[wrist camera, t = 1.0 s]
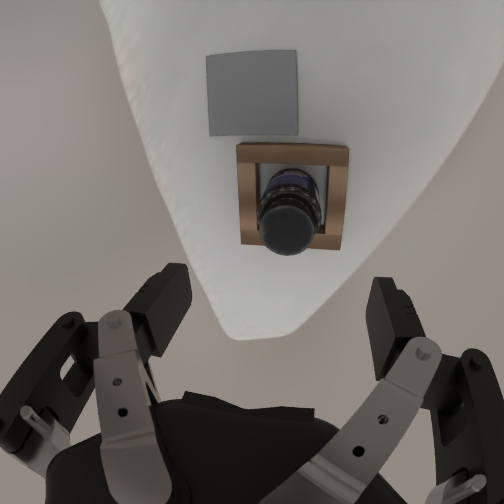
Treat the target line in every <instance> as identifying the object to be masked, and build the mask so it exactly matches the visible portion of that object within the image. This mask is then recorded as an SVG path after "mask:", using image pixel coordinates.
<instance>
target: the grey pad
mask: <svg viewBox="0 0 504 504" xmlns="http://www.w3.org/2000/svg"><path fill="white" fill-rule="evenodd" d="M206 71H207V94H208V113H209V131H210V136H227V135H298V103H297V65H296V50H266V51H248V52H236V53H226V54H218V55H210V56H206Z"/></svg>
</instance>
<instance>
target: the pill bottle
mask: <svg viewBox="0 0 504 504" xmlns="http://www.w3.org/2000/svg"><path fill="white" fill-rule="evenodd" d="M321 217H322V216H321V208H320V200H319V194H318V188H317V185H316V183H315V182H314V180H313V179H312V178H311V177H310V175H308V174H307V173H305V172H303V171H301V170H298V169H285V170H282V171H280V172H278V173H277V174H275V175H274V176H273V177H272V178H271V180H270V181H269V183H268V186H267V188H266V190H265V192H264V194H263V196H262V198H261V200H260V202H259V205H258V208H257V222H258V225H259V234H260V237H261V240H262V242H263V243H264V245H265V246H266V247H267V248H268V249H269V250H271V251H273V252H275V253H277V254H280V255H286V256H288V255H295V254H298V253H301V252H303V251H304V250H305V249H307V248H308V246H309V245H310V244H311V242H312V240H313V237H314V235H315V234H316V233H317V231H318V229H319V227H320V224H321Z"/></svg>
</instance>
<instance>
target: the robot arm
mask: <svg viewBox="0 0 504 504" xmlns="http://www.w3.org/2000/svg"><path fill="white" fill-rule="evenodd" d="M191 301H192V290H191V284H190V278H189V273H188V268H187V265H186V264H182V263H168V264H167V265H166V266H165V268H164V269H163V270H162V271H161V272H158V273H156V274H155V275H153V276H152V277H150V278H149V279H148V280H147V281H146V282H145V283H144V285H143V286H142V287H141V288H140V289H139V292H137V293H136V294H135V295H134V296H133V298H132V299H131V300H130V301H129V303H128V304H127V305H126V306H125V307H124V309H123V310H114V311H111V312H108V313H106V314H105V315H104V316H103V317H101V319H100V320H99V322H85V320H84V318H83V316H82V314H81V313H79V312H68V313H66V314H64V315H62V316H61V317H60V318H59V319H58V320H57V321H56V322H55V323H54V324H53V326H52V327H51V328H50V329H49V330H48V332H47V333H46V334H45V335H44V336H43V338H42V339H41V340H40V341H39V343H38V344H37V345H36V346H35V348H34V349H33V350H32V351H31V353H30V354H29V355H28V357H27V358H26V359H25V361H24V362H23V363H22V365H21V366H20V367H19V369H18V370H17V371H16V373H15V374H14V375H13V377H12V378H11V380H10V381H9V382H8V384H7V385H6V387H5V388H4V390H3V391H2V393H1V394H0V447H1V448H2V449H3V450H4V451H5V452H6V453H7V454H9V455H10V456H11V457H13V458H14V459H16V460H17V461H19V462H20V463H21V464H23V465H24V466H27V467H28V468H30V469H32V470H33V471H35V472H36V473H38V474H39V475H41V476H42V477H43V478H45V479H46V499H45V504H407V503H406V502H405V501H404V499H403V498H402V497H401V496H400V495H399V494H398V493H397V492H396V491H395V490H394V489H393V488H392V487H391V485H390V484H389V483H388V482H387V481H386V480H385V479H384V478H383V477H382V476H381V475H380V473H379V470H380V469H381V468H382V466H383V465H384V464H385V462H386V461H387V460H388V458H389V457H390V455H391V454H392V452H393V451H394V449H395V448H396V446H397V445H398V443H399V442H400V440H401V439H402V437H403V436H404V434H405V433H406V431H407V429H408V428H409V426H410V424H411V423H412V421H413V419H414V417H415V416H416V414H417V412H418V410H419V409H420V408H423V409H428V410H430V413H431V420H432V428H433V437H434V448H435V461H436V487H435V488H434V489H433V490H432V491H431V492H430V493H429V495H428V497H427V499H426V503H425V504H504V399H503V396H502V393H501V390H500V387H499V384H498V381H497V378H496V375H495V372H494V370H493V367H492V365H491V362H490V360H489V358H488V357H487V356H486V354H484V353H483V352H482V351H480V350H478V349H474V348H473V349H472V348H471V349H467V350H465V351H464V352H463V354H462V356H461V357H460V358H458V357H454V356H449V355H445V354H442V351H441V349H440V347H439V346H438V344H437V343H436V342H434V341H433V340H431V339H429V338H426V335H425V333H424V330H423V328H422V325H421V322H420V320H419V318H418V315H417V314H416V310H415V308H414V307H413V306H414V305H413V303H412V301H411V299H410V297H409V296H408V295H407V294H406V293H405V292H404V291H403V290H397V288H396V285H395V283H394V280H393V278H391V277H374V279H373V283H372V287H371V291H370V295H369V299H368V304H367V308H366V323H367V329H368V333H369V339H370V345H371V351H372V357H373V362H374V370H375V376H376V381H380V382H379V383H378V384H377V386H376V387H375V388H374V390H373V391H372V392H371V394H370V395H369V396H368V397H367V399H366V400H365V401H364V403H363V404H362V405H361V406H360V407H359V409H358V410H357V411H356V412H355V413H354V415H353V416H352V417H351V418H350V419H349V420H348V422H347V423H346V424H345V425H344V426H343V427H342V429H338V428H337V427H335V426H334V425H332V424H330V423H328V422H326V421H324V420H321V419H318V418H315V417H314V410H315V409H313V408H296V407H284V406H280V407H271V408H260V409H243V408H240V407H238V406H235V405H233V404H230V403H228V402H226V401H223V400H221V399H218V398H216V397H212V396H207V395H202V394H197V393H193V392H188V391H185V393H184V395H183V398H182V399H175V400H167V401H163V402H162V401H161V399H160V396H159V393H158V390H157V387H156V384H155V380H154V377H153V373H152V370H151V366H150V363H149V361H148V359H149V358H150V356H151V355H152V356H157V357H162V355H163V353H164V352H165V350H166V348H167V346H168V344H169V342H170V341H171V339H172V337H173V335H174V334H175V332H176V330H177V328H178V327H179V325H180V323H181V321H182V319H183V318H184V316H185V314H186V312H187V311H188V309H189V307H190V305H191ZM70 355H71V357H72V358H73V360H74V361H75V362H74V364H73V365H72V367H71V368H70V370H69V371H68V373H67V374H66V376H65V377H64V379H63V380H62V379H61V377H60V370H61V368H62V366H63V365H64V363H65V362H66V360H67V359H68V357H69V356H70ZM94 388H95V389H96V399H97V408H98V415H99V422H100V428H101V433H99V434H96V435H95V436H93V437H90V438H88V439H86V440H84V441H82V442H79V443H77V444H75V445H73V446H71V444H70V435H69V434H70V433H71V431H72V429H73V427H74V425H75V423H76V421H77V419H78V417H79V415H80V414H81V412H82V410H83V408H84V406H85V404H86V402H87V401H88V399H89V397H90V396H91V394H92V392H93V390H94Z"/></svg>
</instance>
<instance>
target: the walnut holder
mask: <svg viewBox="0 0 504 504" xmlns="http://www.w3.org/2000/svg"><path fill="white" fill-rule="evenodd" d="M236 154H237V175H238V195H239V213H240V232H241V244H246V245H262V246H265V245H264V243H263V242H262V240H261V237H260V234H259V225H258V222H257V208H258V205H259V202H260V186H259V163H280V164H306V165H324V166H328V175H327V193H326V208H325V221H324V225H320V227H319V229H318V231H317V233H316V234H315V235H314V237H313V240H312V242H311V244H310V245H309V246H308V248H311V249H327V250H340V247H341V239H342V231H343V222H344V213H345V202H346V191H347V178H348V162H349V148H347V147H346V146H338V145H324V144H306V143H268V142H256V143H240V144H238V145H236Z"/></svg>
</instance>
